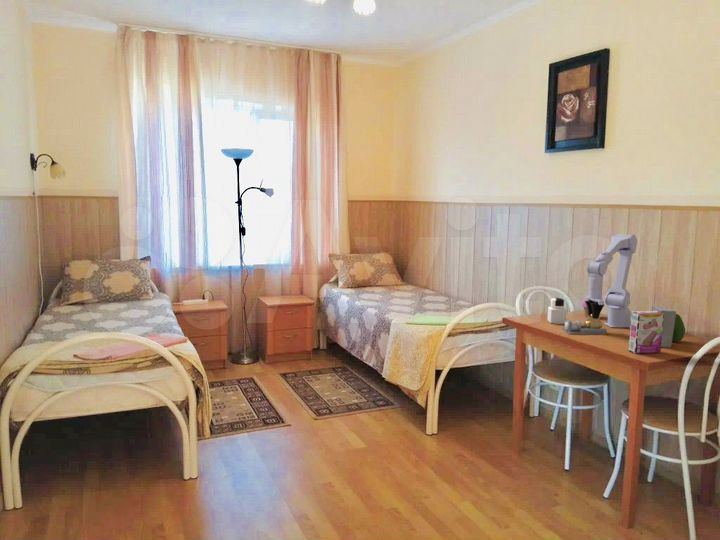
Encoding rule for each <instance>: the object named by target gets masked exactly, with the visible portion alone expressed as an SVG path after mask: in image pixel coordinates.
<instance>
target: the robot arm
mask: <svg viewBox="0 0 720 540" xmlns="http://www.w3.org/2000/svg"><path fill="white" fill-rule="evenodd" d="M637 246H638V238H637V236H636V235H635V234H619V233H613V235H612V236H611V238H610V244H609V246H608V247H607V248H606V250H605V251H601V253H600V254H599V255H597V257H596V259H594V261H590V262H589V263H588V265H587V267H586V271H587V276H588V279H589V280H588V291H587V292H588V294H586V295H585V299H589V300H588V301H585V303H586V305H587V308H588V313H589V315H590V314H593V318H594V319H598V318H599V317H600V315H601V313H602V310H603V308H604V307H605V306H607V308H608V313H607V322H604V323H603V324H604V325H605V326H607V327H610V328H624V329H625V328H629V329H630V325H631V314H632V311H631V310H630V308H628V307H629V306H630V303H631V293H630V291H628V289H626V286H627V283H628V277H629V273H630V272H629V271H630V267H631V263H632V259H633V255H634V254H635V253H636V250H637ZM617 252H618V254H620V256H619V260H618V266H617V270H616V275H615V279H614V284H613V286H612V287H611V288H608V290H607V292H606V295H605V296H604V297H605V298H604V300H603V285H604V283H603V282H604V275H605V274H606V272H607V269H608V267H609V265H610V264H611V262H612V261H613V259H614V255H615V254H616V253H617Z"/></svg>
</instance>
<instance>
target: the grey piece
mask: <svg viewBox="0 0 720 540" xmlns="http://www.w3.org/2000/svg"><path fill="white" fill-rule="evenodd" d="M561 330H562V331H564V332H565V333H566V334H568V335H596V334H607V335H608V332H607V328H599V329H587V328H585V326H584V324H581V322H580V320H575V321H572V320H570V319H568V318H566V320H565V324H564V327H561Z"/></svg>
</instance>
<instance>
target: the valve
mask: <svg viewBox="0 0 720 540" xmlns="http://www.w3.org/2000/svg"><path fill="white" fill-rule="evenodd" d="M586 319H587V320H586V321H584V322H583V325H584V326H585V328H587V329H599V328H600V329H603V323H602V321H600V320H601V317H600V316H599V318H598V319H594V318H593V314H590V315H587V317H586Z"/></svg>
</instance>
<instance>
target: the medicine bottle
mask: <svg viewBox="0 0 720 540" xmlns="http://www.w3.org/2000/svg"><path fill="white" fill-rule="evenodd" d="M564 305H565V299H563V298H561V297H553V298H551V299H550V306H548V307H547V319H546V320H547V322H549V323H550V324H551V323H553V324H552V325H565V320H566V319H567V309H565V306H564Z"/></svg>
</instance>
